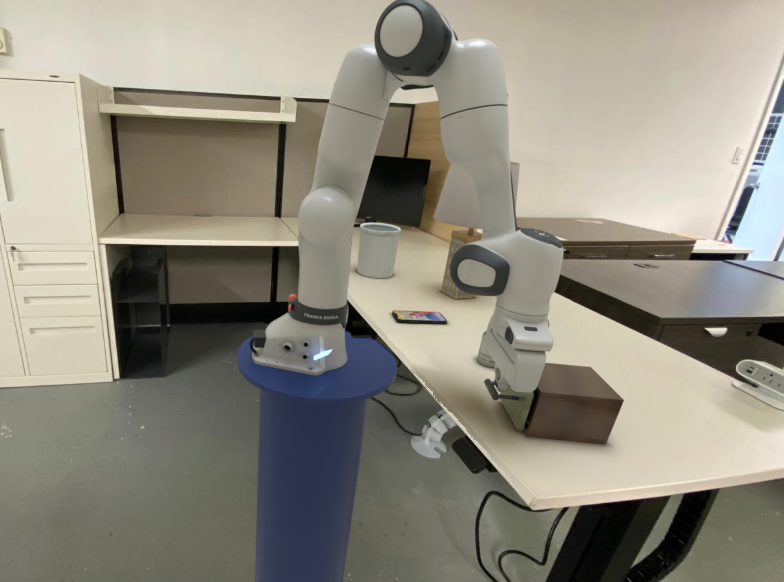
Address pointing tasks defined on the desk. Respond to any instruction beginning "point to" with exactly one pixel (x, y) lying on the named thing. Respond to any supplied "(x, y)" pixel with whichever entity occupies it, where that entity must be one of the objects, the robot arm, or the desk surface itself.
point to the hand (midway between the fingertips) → (499, 388)
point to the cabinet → (573, 405)
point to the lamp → (462, 217)
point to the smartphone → (419, 317)
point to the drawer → (514, 403)
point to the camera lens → (485, 355)
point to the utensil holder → (377, 249)
